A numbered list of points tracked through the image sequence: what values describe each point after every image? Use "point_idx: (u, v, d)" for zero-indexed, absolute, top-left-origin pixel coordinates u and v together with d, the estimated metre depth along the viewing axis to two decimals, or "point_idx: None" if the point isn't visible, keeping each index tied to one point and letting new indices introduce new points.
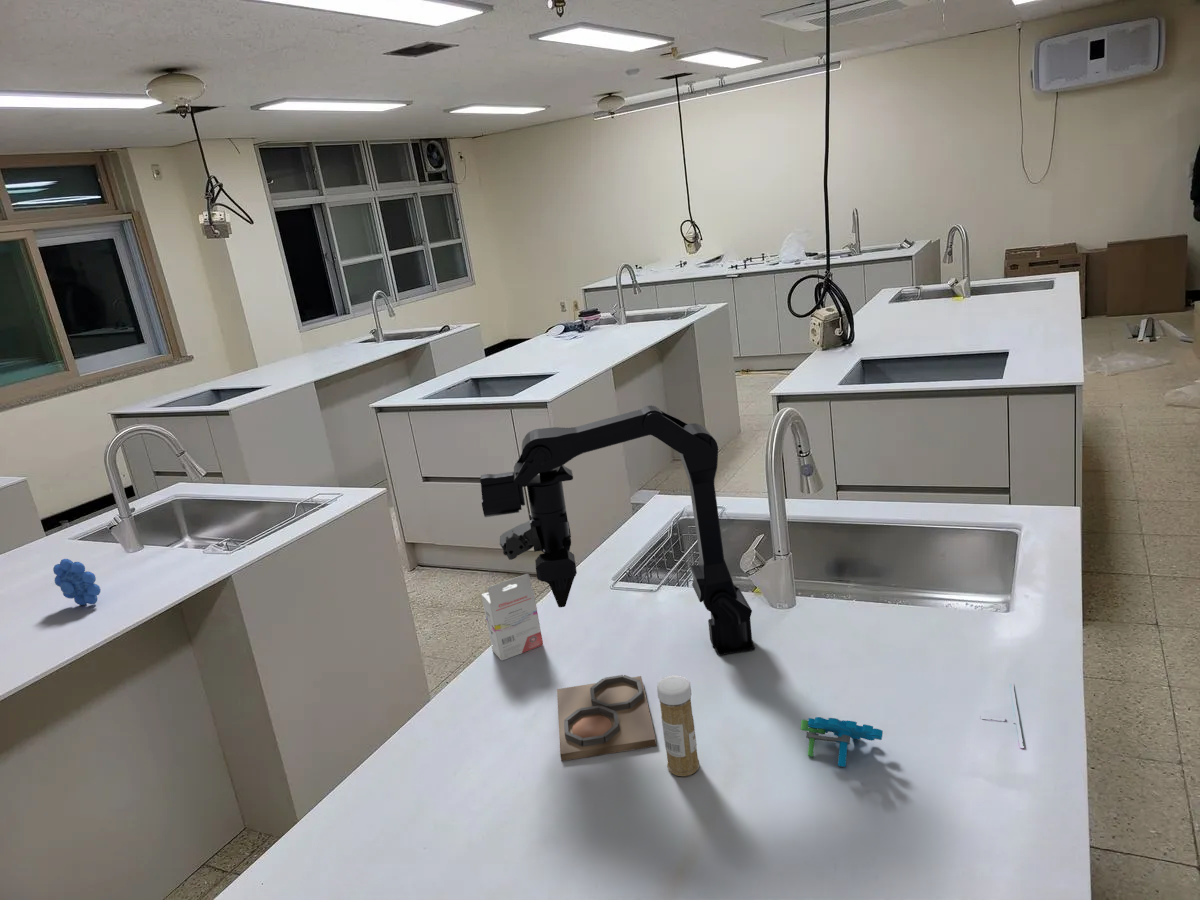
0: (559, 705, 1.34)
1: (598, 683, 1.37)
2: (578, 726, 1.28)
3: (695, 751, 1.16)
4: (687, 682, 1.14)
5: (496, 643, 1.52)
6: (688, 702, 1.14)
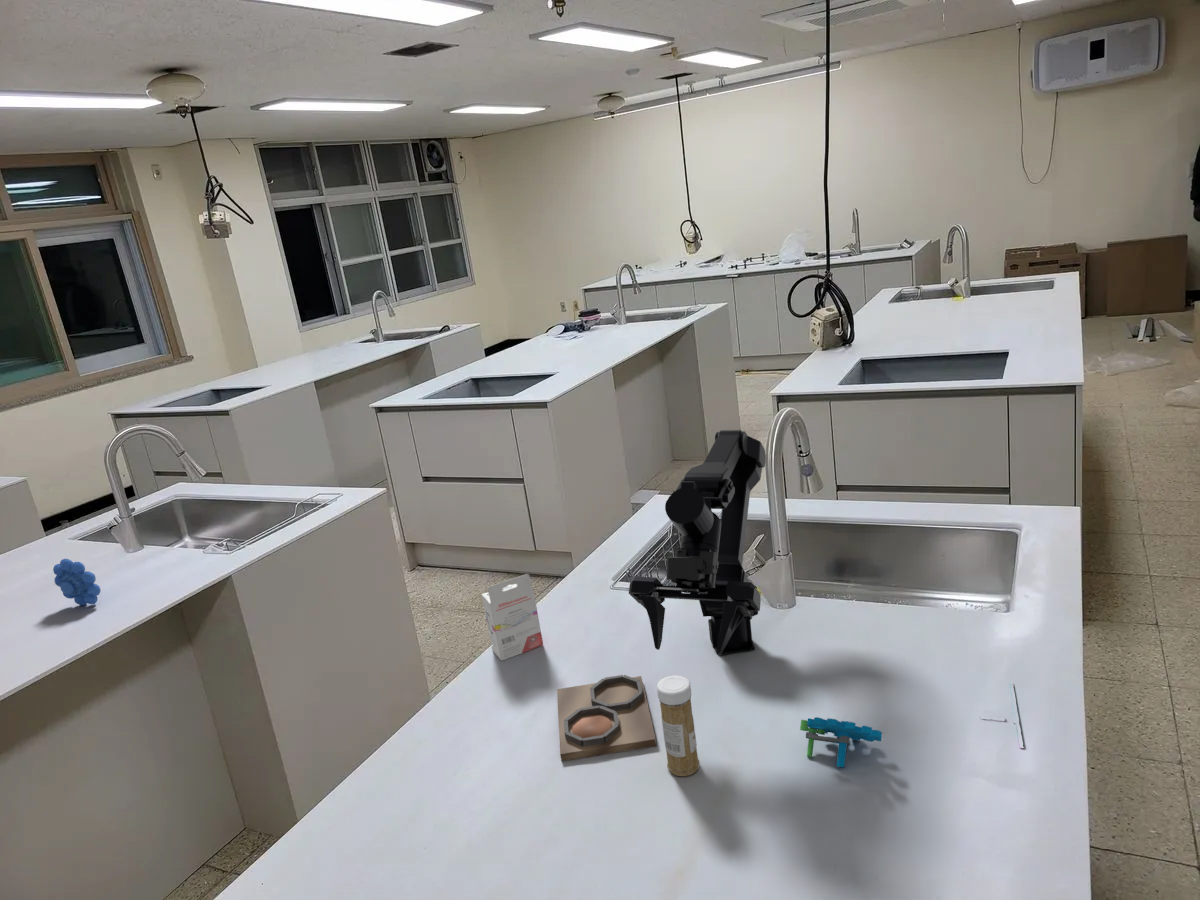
0: (559, 705, 1.34)
1: (598, 683, 1.37)
2: (578, 726, 1.28)
3: (695, 751, 1.16)
4: (687, 682, 1.14)
5: (496, 643, 1.52)
6: (688, 702, 1.14)
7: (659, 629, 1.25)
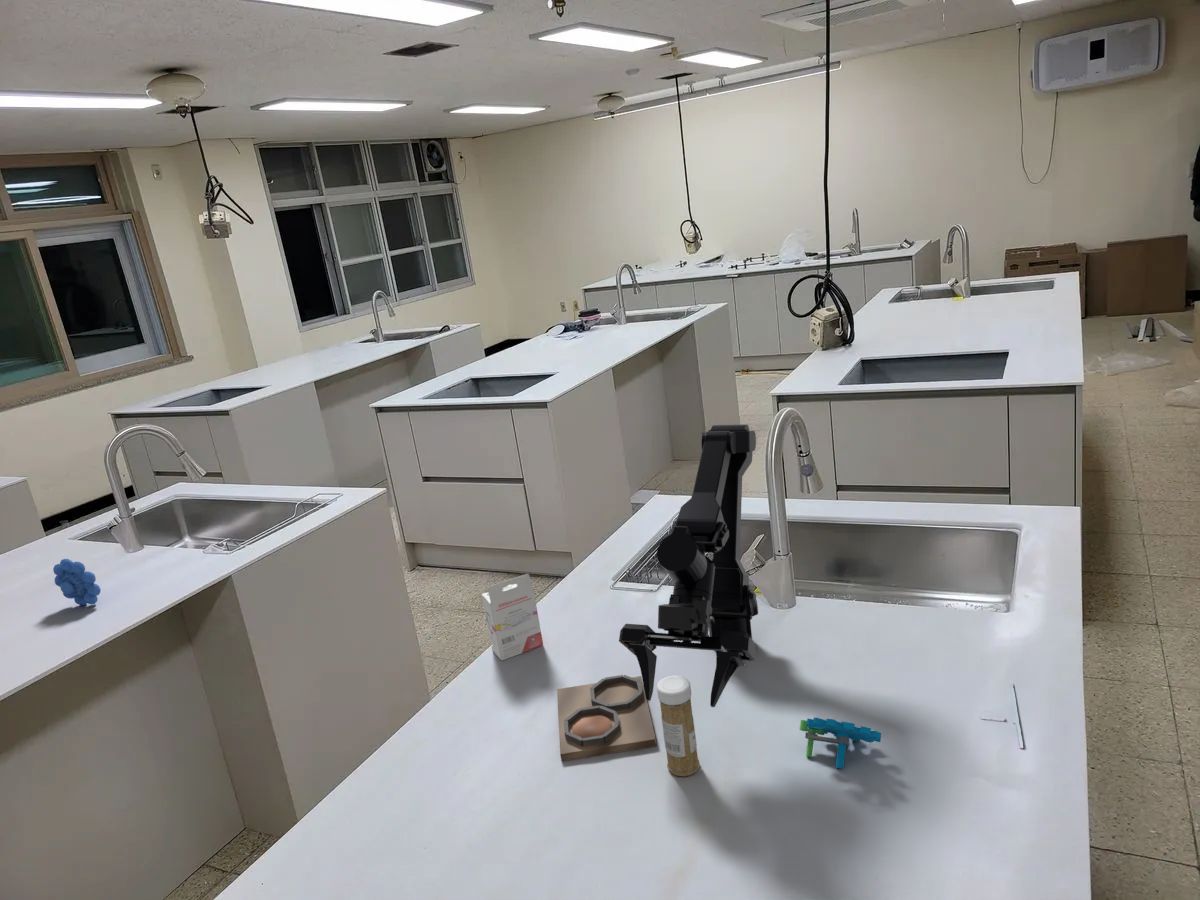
0: (559, 705, 1.34)
1: (598, 683, 1.37)
2: (578, 726, 1.28)
3: (695, 751, 1.16)
4: (687, 682, 1.14)
5: (496, 643, 1.52)
6: (688, 702, 1.14)
7: (651, 679, 1.20)
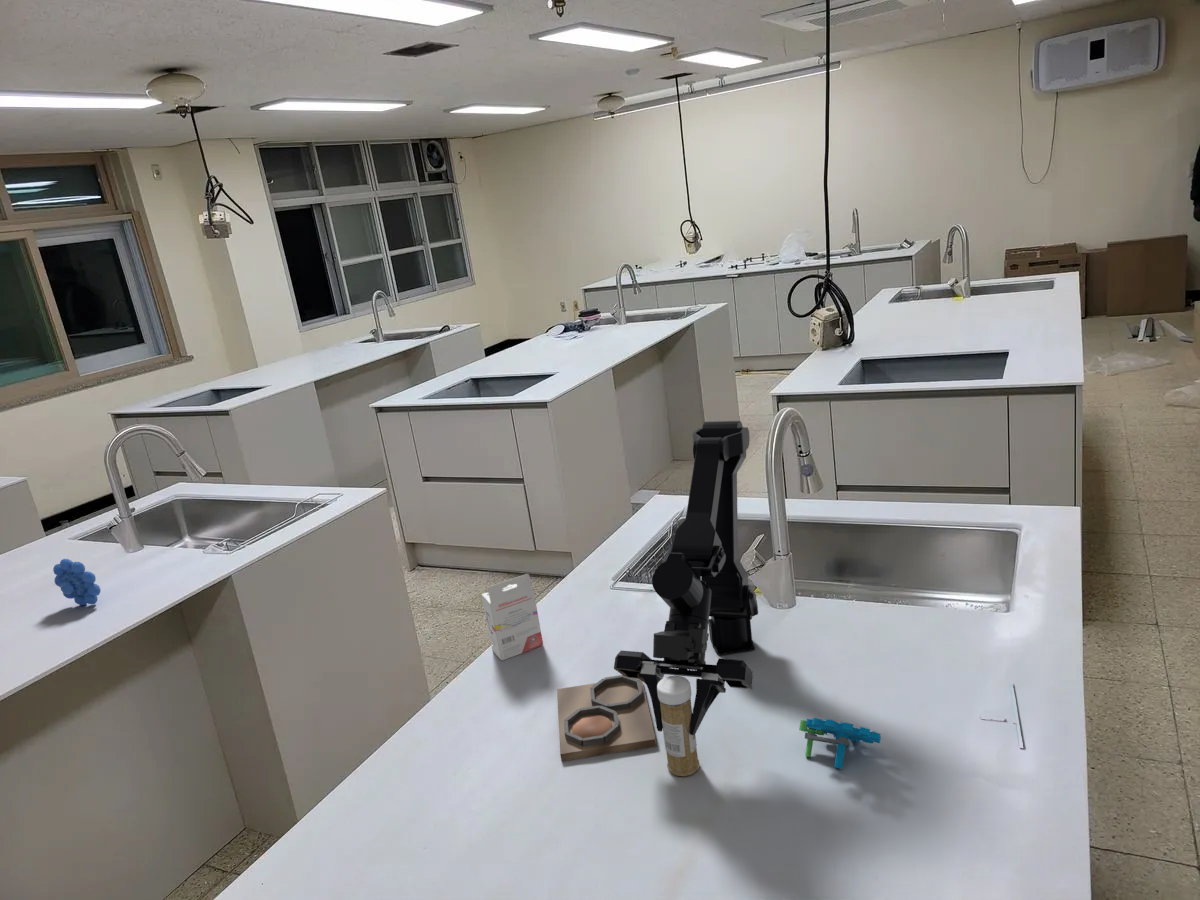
0: (559, 705, 1.34)
1: (598, 683, 1.37)
2: (578, 726, 1.28)
3: (695, 751, 1.16)
4: (687, 682, 1.14)
5: (496, 643, 1.52)
6: (688, 702, 1.14)
7: None
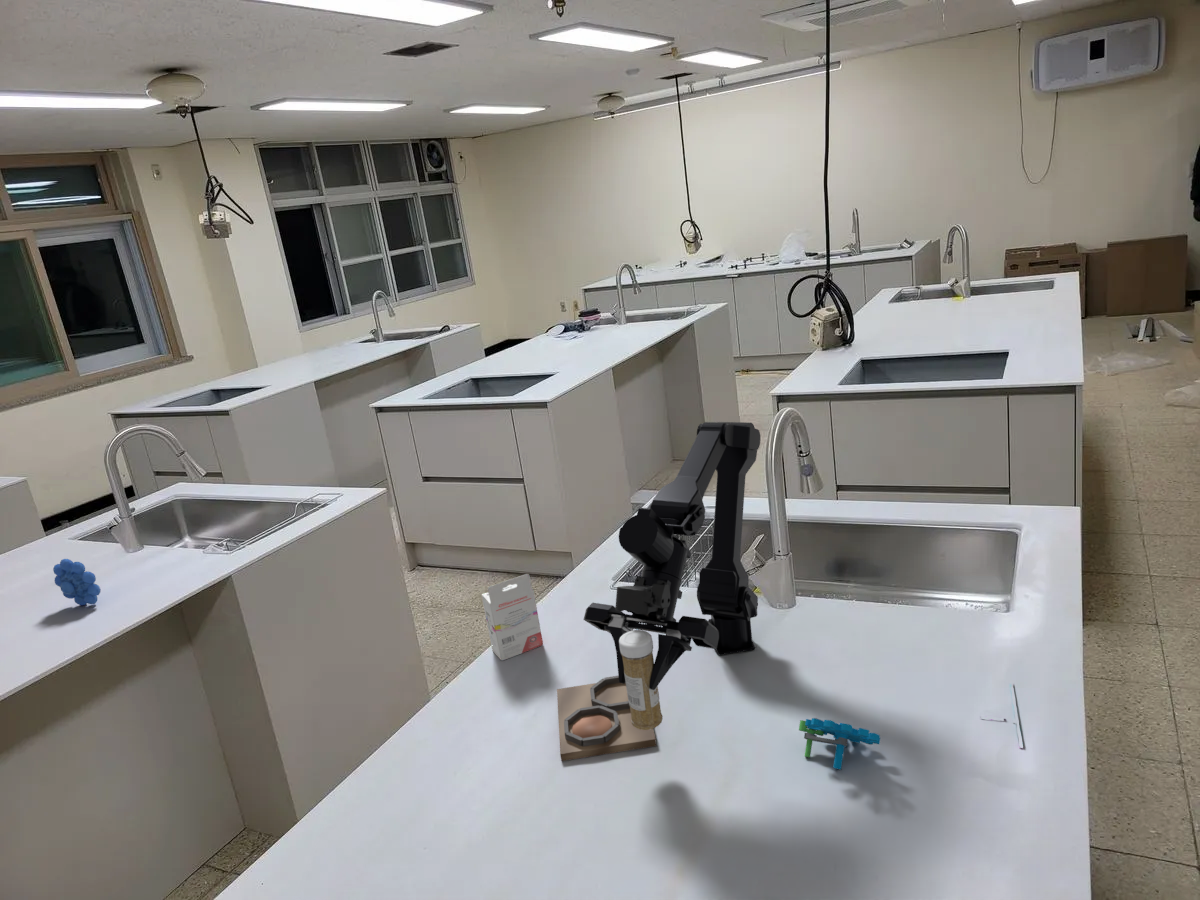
0: (559, 705, 1.34)
1: (598, 683, 1.37)
2: (578, 726, 1.28)
3: (657, 706, 1.17)
4: (649, 637, 1.15)
5: (496, 643, 1.52)
6: (648, 657, 1.14)
7: None
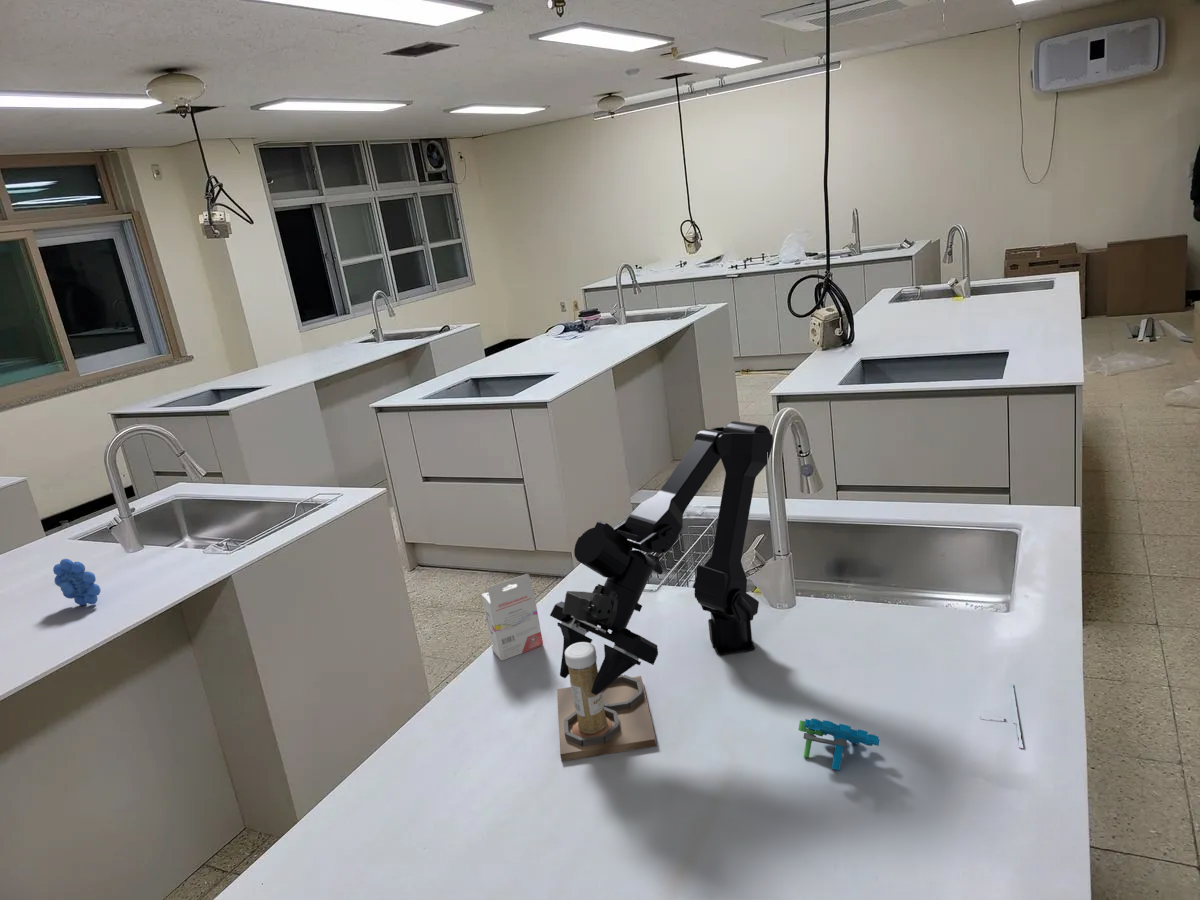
0: (559, 705, 1.34)
1: None
2: None
3: (597, 715, 1.25)
4: (590, 651, 1.22)
5: (496, 643, 1.52)
6: (587, 669, 1.22)
7: None
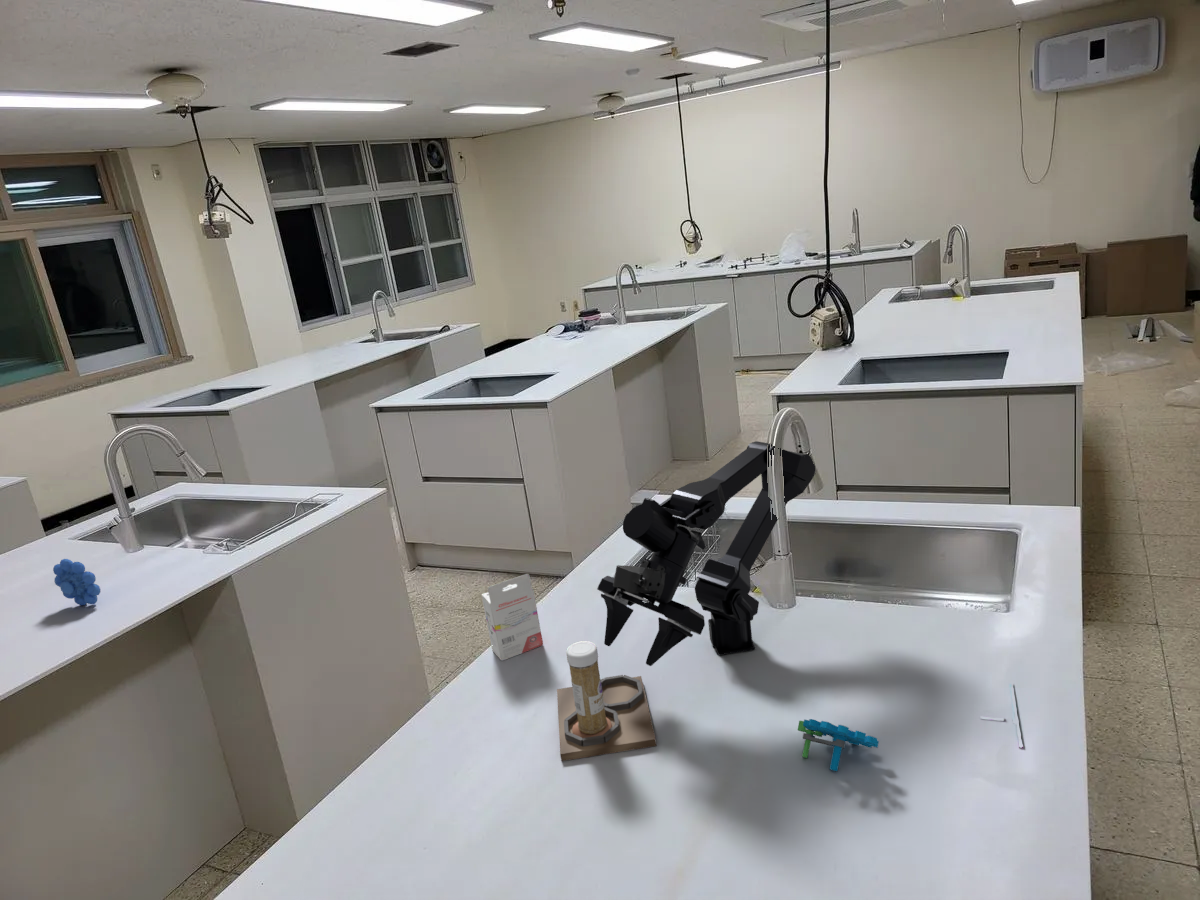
0: (559, 705, 1.34)
1: None
2: None
3: (598, 715, 1.25)
4: (592, 650, 1.23)
5: (496, 643, 1.52)
6: (589, 668, 1.23)
7: (614, 628, 1.34)
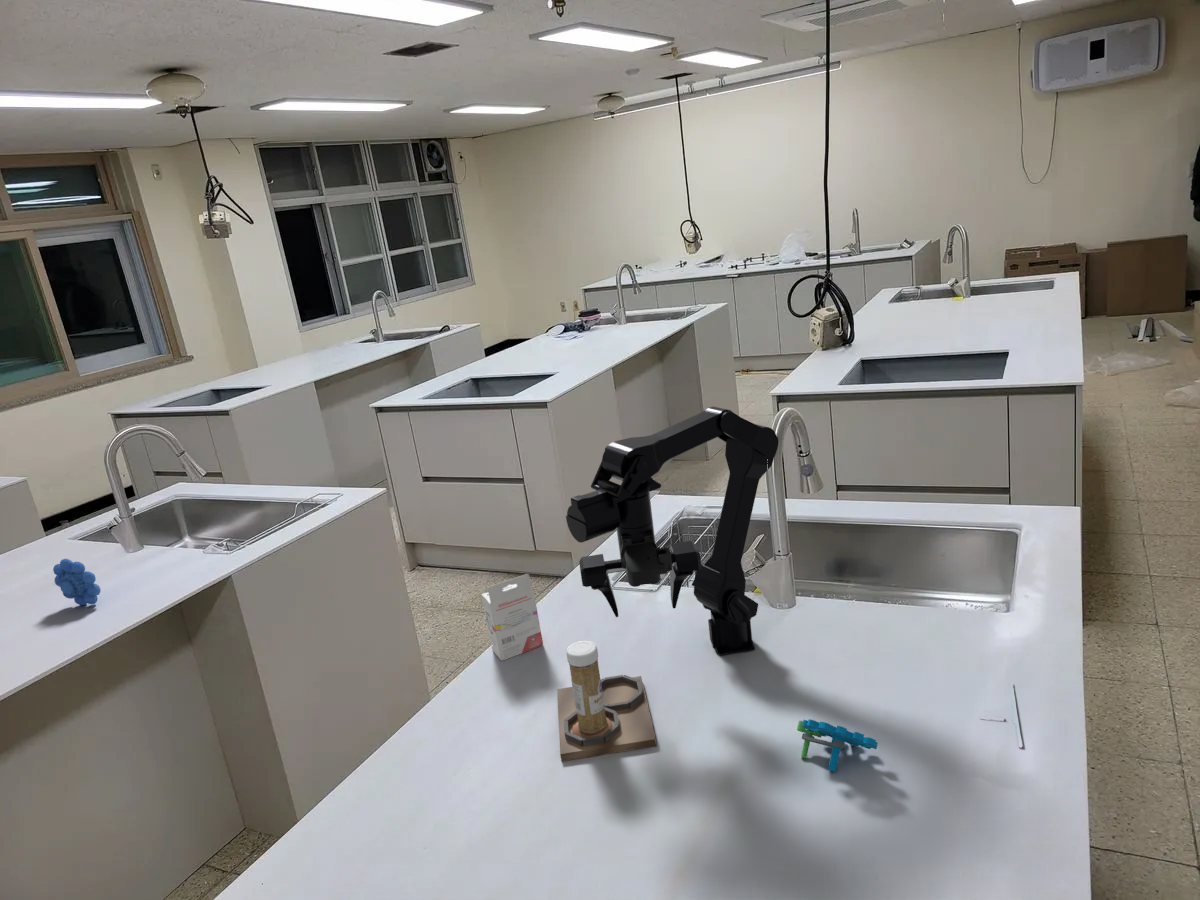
0: (559, 705, 1.34)
1: None
2: None
3: (598, 714, 1.25)
4: (592, 649, 1.23)
5: (496, 643, 1.52)
6: (589, 667, 1.23)
7: (614, 599, 1.35)
